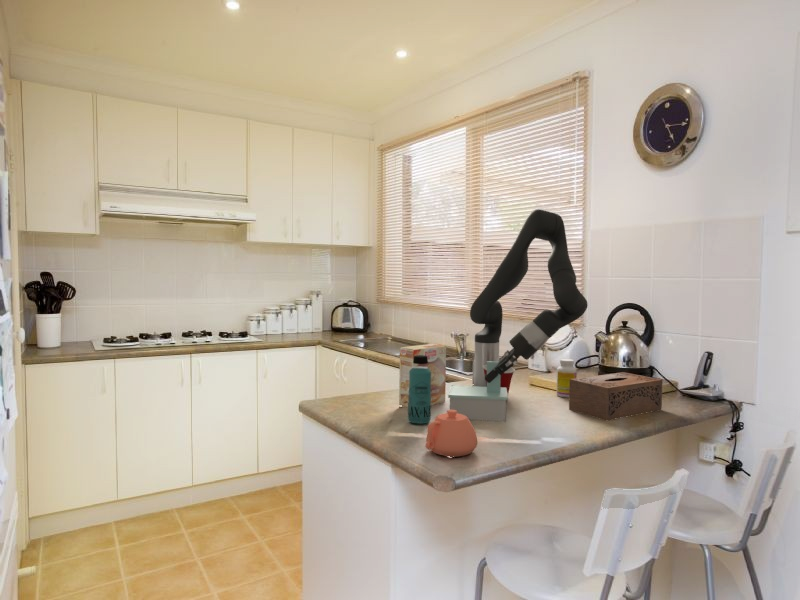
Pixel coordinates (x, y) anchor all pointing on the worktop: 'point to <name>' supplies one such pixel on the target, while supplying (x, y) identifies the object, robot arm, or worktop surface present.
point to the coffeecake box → (435, 364)
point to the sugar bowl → (451, 435)
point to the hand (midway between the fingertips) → (486, 379)
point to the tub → (480, 408)
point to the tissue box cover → (615, 395)
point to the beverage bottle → (419, 392)
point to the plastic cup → (503, 377)
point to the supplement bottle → (565, 377)
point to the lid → (481, 388)
